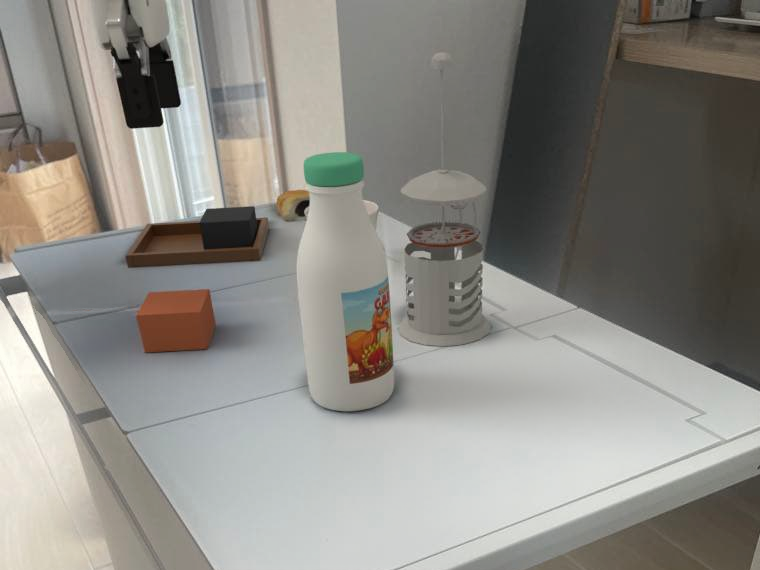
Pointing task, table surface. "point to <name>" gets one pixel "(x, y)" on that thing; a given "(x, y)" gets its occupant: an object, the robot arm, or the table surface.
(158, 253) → the tray
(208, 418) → the table surface
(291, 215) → the pastry
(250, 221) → the seated pad
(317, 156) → the milk bottle
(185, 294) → the orange block
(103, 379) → the table surface
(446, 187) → the french press
